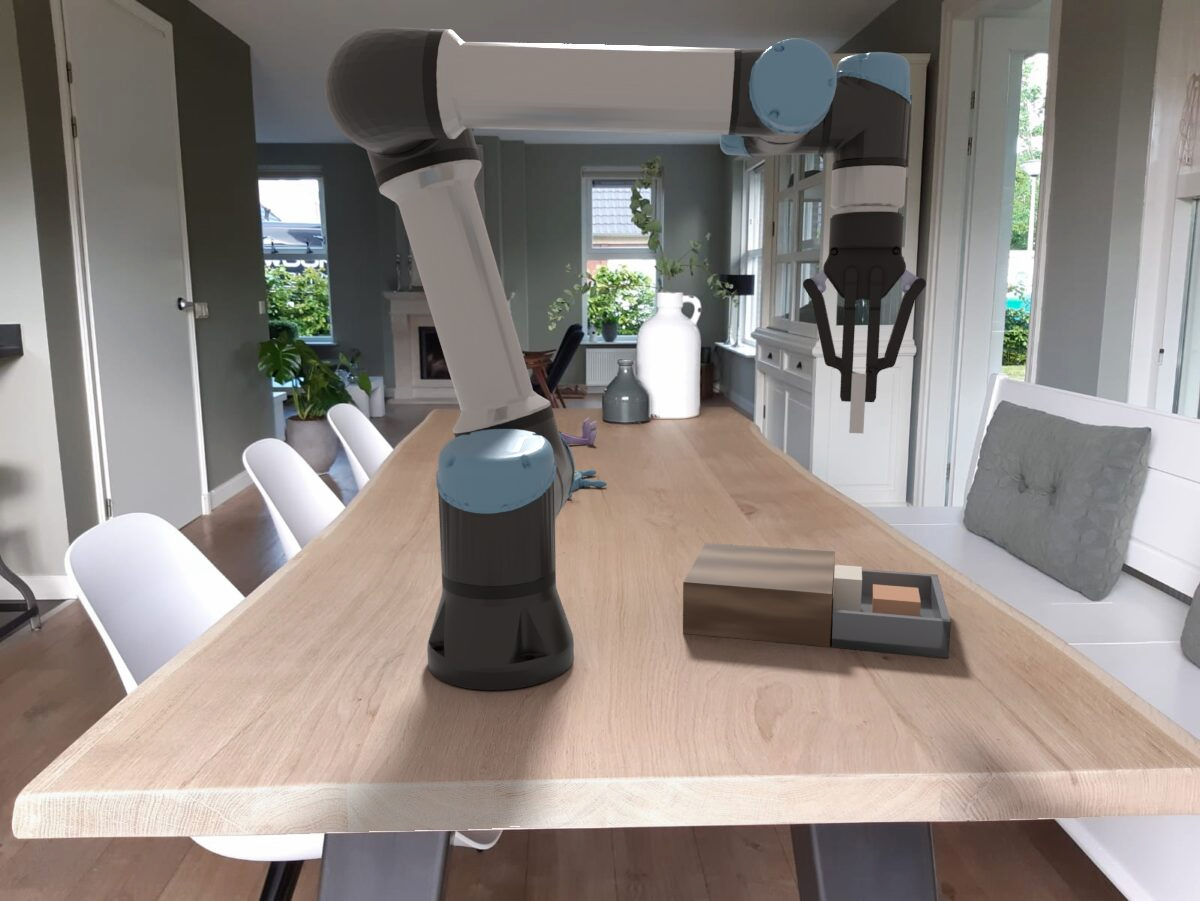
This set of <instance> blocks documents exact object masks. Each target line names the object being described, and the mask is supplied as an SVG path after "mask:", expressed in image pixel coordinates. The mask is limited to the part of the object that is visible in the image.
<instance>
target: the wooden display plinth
mask: <svg viewBox="0 0 1200 901" xmlns="http://www.w3.org/2000/svg"><path fill="white" fill-rule="evenodd" d="M835 559H836V551H832V550H819V549H805V548H787V547H776V546H774V547H773V546H760V545H748V544H747V545H744V544H734V543H733V544H730V543H728V544H727V543H718V542H716V543H714V542H704V545H703V547H702V548H701V550H700V552H699V553H698V555H697V557H696V559H695V561H693V564H692V566H691V567H690V569H689V571H688V573H687V575H686V576H685V579H684V580H683V582H682V586H683V589H682V603H683V604H682V634H689V635H699V636H708V637H719V638H728V639H740V640H750V641H762V642H773V643H780V644H781V643H782V644H783V643H784V644H792V645H793V644H795V645H803V646H804V645H805V646H814V647H825V648H830V647H831V637H832V636H831V635H832V622H833V596H834V574H835V565H836V564H835Z"/></svg>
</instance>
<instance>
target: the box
mask: <svg viewBox="0 0 1200 901" xmlns="http://www.w3.org/2000/svg"><path fill="white" fill-rule="evenodd" d="M873 584H876V585H888V586H901V587H913V588H918V590H919V595H920V601H921V606H920V617H918V616H906V615H894V614H882V613H872V590H873ZM943 593H944V592H943V590H942V586H941V583H940V579H939V574H932V573H921V572H906V571H895V570H894V571H891V570H881V569H879V570H878V569H863V568H862V593H861V612H858V611H847V610H835V609H833V608H832V627H831V635H832V636H831V648H832V649H833V648H835V649H843V650H844V649H845V650H854V651H865V652H866V651H867V652H878V653H888V654H898V655H907V656H910V655H911V656H918V657H930V658H940V659H949V657H950V656H949V655H950V643H951V642H950V640H951V639H950V638H951V624H952V622H951V618H950V614H949V611H948V606H947V603H946V599H945V596H944V594H943Z"/></svg>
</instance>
